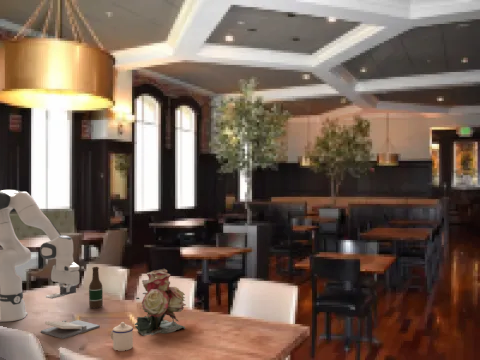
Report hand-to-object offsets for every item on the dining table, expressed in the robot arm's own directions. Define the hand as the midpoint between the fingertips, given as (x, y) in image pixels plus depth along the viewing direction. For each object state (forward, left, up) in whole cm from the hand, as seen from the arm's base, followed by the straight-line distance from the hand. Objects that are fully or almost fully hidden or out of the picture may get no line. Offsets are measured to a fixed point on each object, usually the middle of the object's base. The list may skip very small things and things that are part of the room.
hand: (64, 291), depth 268 cm
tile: (+14, -11, -13) cm, 22 cm away
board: (+14, -7, -17) cm, 23 cm away
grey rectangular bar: (0, -2, -2) cm, 3 cm away
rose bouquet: (+50, +22, -17) cm, 57 cm away
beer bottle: (-12, +30, -17) cm, 36 cm away
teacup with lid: (+56, -11, -17) cm, 60 cm away
